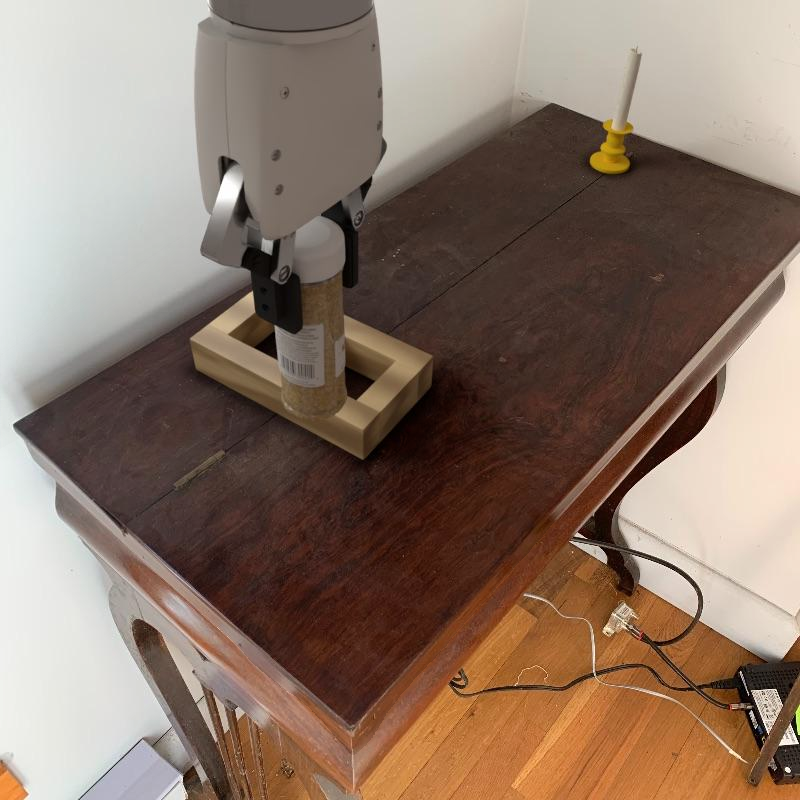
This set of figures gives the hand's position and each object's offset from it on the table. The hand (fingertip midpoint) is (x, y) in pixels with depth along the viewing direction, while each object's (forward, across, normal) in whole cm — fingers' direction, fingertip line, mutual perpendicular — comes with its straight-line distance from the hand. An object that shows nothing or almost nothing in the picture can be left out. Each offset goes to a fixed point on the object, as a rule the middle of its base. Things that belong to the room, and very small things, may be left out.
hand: (307, 297), depth 49 cm
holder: (+23, -13, -11) cm, 29 cm away
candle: (+23, -68, -5) cm, 72 cm away
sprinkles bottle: (+9, 0, 0) cm, 9 cm away
